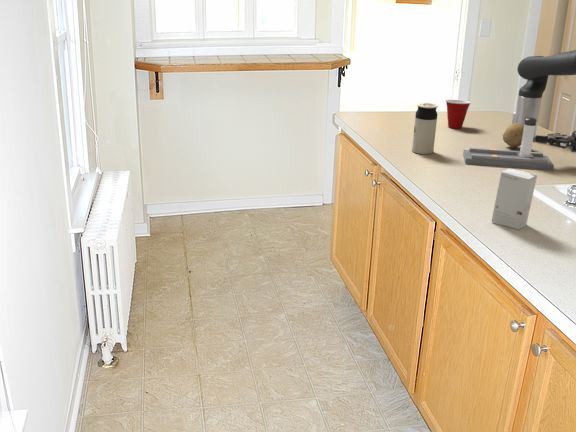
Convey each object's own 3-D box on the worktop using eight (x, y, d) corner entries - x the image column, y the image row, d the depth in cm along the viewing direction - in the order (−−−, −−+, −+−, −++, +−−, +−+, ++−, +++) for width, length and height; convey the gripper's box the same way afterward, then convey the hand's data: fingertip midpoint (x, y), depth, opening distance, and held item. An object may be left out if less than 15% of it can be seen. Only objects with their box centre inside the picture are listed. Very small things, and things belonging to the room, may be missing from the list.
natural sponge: (526, 152, 255) (531, 126, 251) (502, 150, 257) (506, 125, 253) (523, 146, 263) (527, 121, 260) (500, 144, 265) (504, 120, 261)
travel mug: (435, 150, 253) (440, 104, 247) (430, 155, 246) (435, 107, 240) (414, 148, 256) (419, 101, 250) (409, 152, 249) (414, 105, 243)
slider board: (546, 161, 244) (547, 152, 243) (552, 170, 233) (554, 161, 232) (463, 154, 249) (464, 146, 248) (465, 163, 238) (466, 154, 236)
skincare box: (491, 222, 184) (498, 171, 179) (500, 217, 188) (507, 167, 183) (520, 230, 179) (529, 178, 174) (528, 224, 184) (537, 173, 178)
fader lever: (530, 155, 242) (536, 117, 236) (533, 160, 236) (539, 121, 231) (516, 154, 242) (522, 116, 237) (518, 159, 237) (524, 120, 232)
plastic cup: (468, 126, 293) (472, 99, 289) (466, 131, 284) (470, 103, 280) (443, 123, 297) (446, 96, 292) (440, 128, 287) (444, 101, 283)
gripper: (584, 127, 238) (533, 124, 241) (593, 136, 226) (540, 132, 229) (580, 147, 241) (530, 144, 244) (589, 157, 229) (536, 153, 231)
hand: (535, 138), depth 236 cm, fingers closed
